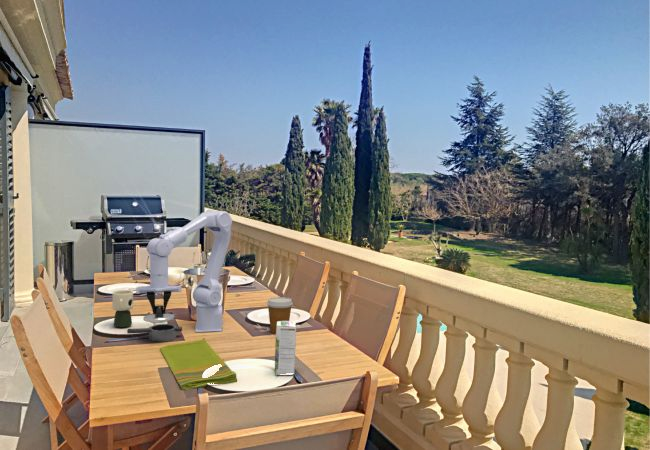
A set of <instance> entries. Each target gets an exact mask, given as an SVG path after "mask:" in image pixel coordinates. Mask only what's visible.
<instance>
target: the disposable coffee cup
mask: <svg viewBox="0 0 650 450" xmlns="http://www.w3.org/2000/svg"><path fill="white" fill-rule="evenodd" d="M266 305H267V307H268V319H269V327H270V328H269V329H270V333H272V334H275V335H276V328H277V321H290V318H291V314H292V313H291V310H292V306H293V301H292V298H290V297H284V296H275V297H274V296H273V297H270V298H268V300H267V302H266Z"/></svg>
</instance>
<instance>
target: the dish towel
mask: <svg viewBox="0 0 650 450" xmlns="http://www.w3.org/2000/svg"><path fill="white" fill-rule="evenodd" d="M159 351H160V352H161V354H162V355H163V358H164V359H165V361H166V363H167V365H168V367H169V369H170V371H171V373H172V372H173V373H172V374H173V377H174V378H175V380H176V382H177V383H178V386H179V387H180V389H181V390H182V389H186V390H192V388H193V389H199V388H198V387H200V388H206V387H205V386H206V385H207V383H210V384H211V383H212V384H213V383H214V384H222V385H226V384H227V385H228V384H233V383H237V382H238V377H237V373H236V372H235V371H234V370H233V371H232V369H231V368H230V367H229V366H228V365H227V364H226V362H225V361H224V360H223V359H222V358H221V357H220V355H218V354H217V352H216V351H215V350H214V349H213V348H212V347H211V345H209V343H208V342H207V340H206V338H205V337H204V338H202V339H200V340H195V341H190V342H181V343H174V344H167V345H164V346H161V347H160V349H159ZM218 364H221V365H222V367H220V368H219V371H217V372H216V373H215V374H214V375H212V376H210V377H208V378H202V374H203V372H204V371H205V370H206V369H208V368H210V367H212V366H214V365H218Z"/></svg>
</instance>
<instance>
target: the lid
mask: <svg viewBox="0 0 650 450" xmlns="http://www.w3.org/2000/svg"><path fill="white" fill-rule="evenodd" d="M163 306H164V304H158V305H156V304H155V314H153V313H151V314H147V315H144V316H143V321H145V322H150V323H152V324H164V323H167V322H169V321H172V320H174V319H175V314H172V313H167V312H165V314H163Z"/></svg>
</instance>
